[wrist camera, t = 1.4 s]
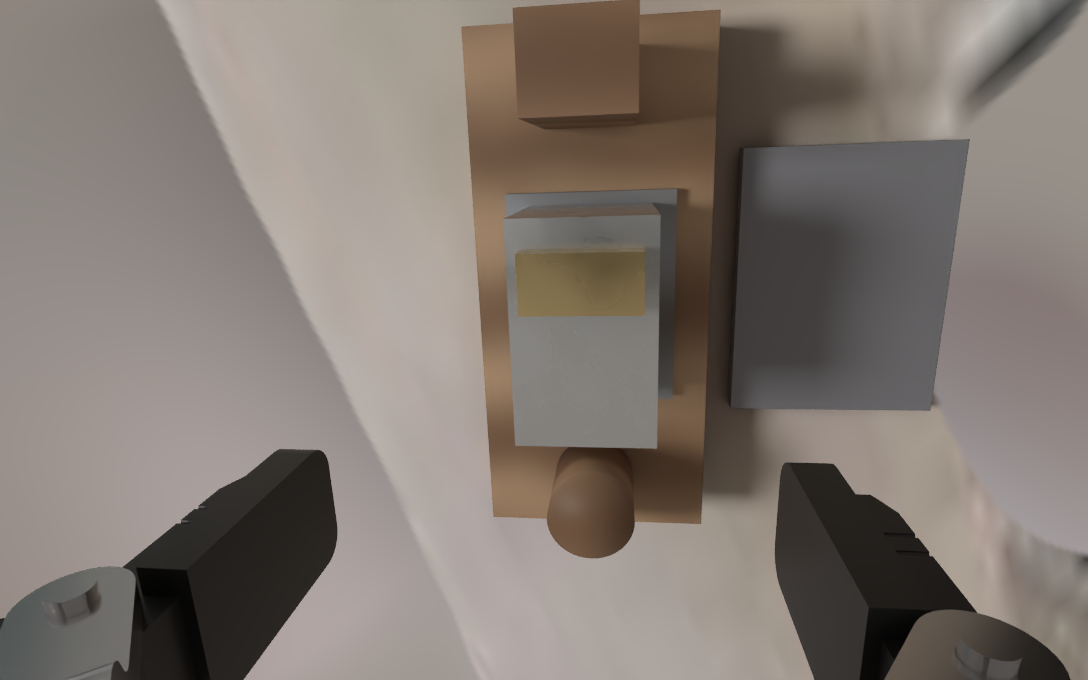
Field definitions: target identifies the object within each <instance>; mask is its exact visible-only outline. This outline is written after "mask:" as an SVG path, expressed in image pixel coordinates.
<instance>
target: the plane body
mask: <svg viewBox="0 0 1088 680" xmlns="http://www.w3.org/2000/svg"><path fill="white" fill-rule="evenodd" d="M720 11H721V10H709V11H693V12H678V13H663V14H648V15H640V0H619V1H604V2H590V3H575V4H561V5H546V6H532V7H517V8H513V23H511V24H496V25H481V26H466V27H462V42H463V58H464V73H465V88H466V103H467V119H468V134H469V149H470V164H471V179H472V195H473V210H474V225H475V240H476V256H477V271H478V286H479V301H480V316H481V332H482V347H483V362H484V377H485V393H486V408H487V423H488V438H489V453H490V469H491V484H492V499H493V514H494V517H518V518H547V524H548V528H549V530H550V533H551V535H552V536H553V538H554V539H555V541H556V542H557V543H558V544H559V545H560V546H561V547H562V548H564V549H565V550H566V551H568V552H570V553H572V554H574V555H577V556H580V557H585V558H602V557H606V556H609V555H612V554H614V553H616V552H618V551H619V550H620V549H622V548H623V547H624V546H625V545H626V544H627V542H628V541H629V540H630V538H631V536H632V533H633V530H634V524H635V522H662V523H691V524H701V511H702V485H703V458H704V432H705V406H706V379H707V353H708V327H709V301H710V274H711V248H712V222H713V195H714V169H715V143H716V116H717V90H718V64H719V38H720ZM650 202H652V204H653V205H654V206H655V208H656V209H657V211H658V212H659V213H660V215H661V221H660V286H659V351H658V416H657V449H653V448H603V447H553V446H515V432H514V413H513V395H512V376H511V357H510V338H509V319H508V300H507V282H506V263H505V244H504V225H503V219H504V218H506V217H508V216H510V215H512V214H514V213H516V212H518V211H520V210H522V209H524V208H526V207H528V206H545V205H580V204H615V203H650Z"/></svg>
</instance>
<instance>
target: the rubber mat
mask: <svg viewBox="0 0 1088 680" xmlns="http://www.w3.org/2000/svg"><path fill="white" fill-rule="evenodd" d="M968 147H969V139H967V140H966V139H965V140H939V141H913V142H888V143H862V144H836V145H810V146H785V147H759V148H740V166H739V187H738V207H737V228H736V248H735V269H734V289H733V310H732V331H731V351H730V372H729V392H728V403H729V405H730V408H753V409H838V410H922V411H930V409H931V402H932V396H933V389H934V382H935V375H936V368H937V361H938V354H939V347H940V340H941V333H942V326H943V320H944V312H945V305H946V298H947V291H948V285H949V278H950V271H951V264H952V257H953V250H954V243H955V236H956V229H957V222H958V215H959V209H960V202H961V195H962V188H963V181H964V174H965V167H966V161H967V154H968Z"/></svg>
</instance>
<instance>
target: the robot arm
mask: <svg viewBox="0 0 1088 680" xmlns="http://www.w3.org/2000/svg"><path fill="white" fill-rule="evenodd" d="M336 541H337V522H336V514H335V507H334V500H333V493H332V486H331V479H330V471H329V464H328V460H327V457H326V455H325V454H324V453H323V452H322V451H320V450H295V449H279V450H277V451H276V452H274V453H273V454H272V455H270V456H269V457H268V458H267V459H266V460H265V461H263V462H262V463H261V464H260V465H259V466H257V467H256V468H255V469H254V470H252V471H251V472H250V473H249V474H248V475H246V476H245V477H243V478H241V479H239V480H237V481H235V482H233V483H231V484H229V485H227V486H225V487H223V488H221V489H219V490H218V491H216V492H215V493H214V494H213V495H211V496H210V497H209V498H208V499H206V500H205V501H204V502H203V503H202V504H200V505H199V508H198V509H194V510H193V511H192V512H190V513H189V514H188V515H187V516H185V517H184V518H183V519H182V520H181V524H176V525H175V526H173V527H172V528H171V529H169V530H168V531H167V532H166V533H164V534H163V535H162V536H161V537H160V538H158V539H157V540H156V541H155V542H153V543H152V544H151V545H150V546H148V547H147V548H146V549H145V550H143V551H142V552H141V553H140V554H138V555H137V556H136V557H135V558H134V559H132V560H131V561H130V562H128V563H127V564H126V565H125V566H124V567H122V568H121V567H98V568H92V569H87V570H83V571H79V572H76V573H73V574H70V575H67V576H64V577H61V578H59V579H56V580H54V581H52V582H50V583H48V584H46V585H44V586H42V587H40V588H38V589H36V590H35V591H33V592H32V593H30V594H28V595H27V596H26V597H24V598H23V599H22V600H20V601H19V602H18V603H17V604H16V605H15V606H14V607H13V608H12V609H11V610H10V611H9V612H8V614H7V615H6V617H5V618H3V619H0V680H243V679H244V678H245V677H246V675H247V674H248V673H249V671H250V670H251V668H252V667H253V666H254V665H255V663H256V662H257V660H258V659H259V658H260V656H261V655H262V653H263V652H264V651H265V649H266V648H267V647H268V645H269V644H270V643H271V641H272V640H273V639H274V637H275V636H276V635H277V633H278V632H279V630H280V629H281V628H282V626H283V625H284V623H285V622H286V621H287V620H288V618H289V617H290V616H291V614H292V613H293V611H294V610H295V609H296V607H297V606H298V604H299V603H300V602H301V601H302V599H303V598H304V596H305V595H306V594H307V592H308V591H309V590H310V588H311V587H312V586H313V584H314V583H315V581H316V580H317V579H318V577H319V576H320V575H321V573H322V572H323V571H324V569H325V568H326V566H327V565H328V564H329V562H330V560H331V558H332V556H333V554H334V550H335V547H336ZM775 563H776V571H777V577H778V582H779V585H780V588H781V591H782V593H783V596H784V599H785V601H786V604H787V607H788V609H789V612H790V615H791V617H792V620H793V623H794V626H795V628H796V631H797V634H798V636H799V639H800V642H801V644H802V647H803V650H804V652H805V655H806V658H807V660H808V663H809V666H810V668H811V671H812V674H813V676H814V679H815V680H1070V677H1069V674H1068V672H1067V670H1066V668H1065V667H1064V665H1063V664H1062V662H1061V661H1060V660H1059V659H1058V658H1057V656H1056V655H1055V654H1054V653H1052V652H1051V651H1050V650H1049V649H1048V648H1047V647H1046V646H1045V645H1043V644H1042V643H1041V642H1039V641H1038V640H1037V639H1035V638H1034V637H1032V636H1030V635H1029V634H1027V633H1026V632H1024V631H1022V630H1020V629H1018V628H1016V627H1014V626H1012V625H1010V624H1008V623H1005V622H1003V621H1001V620H998V619H995V618H992V617H989V616H986V615H982V614H979V613H977V612H976V610H975V609H974V608H973V607H972V605H971V604H970V603H969V602H968V600H967V599H966V598H965V597H964V595H963V594H962V593H961V591H960V590H959V589H958V588H957V586H956V585H955V584H954V583H953V581H952V580H951V579H950V578H949V576H948V575H947V574H946V573H945V571H944V570H943V569H942V567H941V566H940V565H939V564H938V562H937V561H936V560H935V559H934V557H933V556H929V551H928V550H927V549H926V547H925V546H924V545H923V543H922V542H921V541H920V540H919V538H915V533H914V532H913V531H912V530H911V528H910V527H909V526H908V525H907V523H906V522H905V521H904V519H903V518H902V517H901V516H900V514H899V513H898V512H896V511H895V510H893V509H891V508H890V507H888V506H887V505H885V504H884V503H882V502H881V501H879V500H878V499H876V498H875V497H873V496H871V495H858V494H855V493H854V491H853V490H852V489H851V487H850V486H849V484H848V483H847V481H846V480H845V479H844V477H843V476H842V474H841V473H840V472H839V470H838V469H837V467H836V466H835V465H834V464H825V463H784V465H783V467H782V470H781V476H780V487H779V500H778V513H777V526H776V539H775Z"/></svg>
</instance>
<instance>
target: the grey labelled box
mask: <svg viewBox="0 0 1088 680" xmlns="http://www.w3.org/2000/svg"><path fill="white" fill-rule="evenodd" d="M660 221H661V215H660V213H659V212H658V211H657V209H656V208H655V206H654V205H653V204H652V202H650V203H615V204H580V205H545V206H528V207H526V208H524V209H522V210H520V211H518V212H516V213H514V214H512V215H510V216H508V217H506V218H504V219H503V225H504V244H505V263H506V282H507V300H508V319H509V338H510V357H511V376H512V395H513V413H514V432H515V446H553V447H603V448H653V449H657V416H658V351H659V286H660Z"/></svg>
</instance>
